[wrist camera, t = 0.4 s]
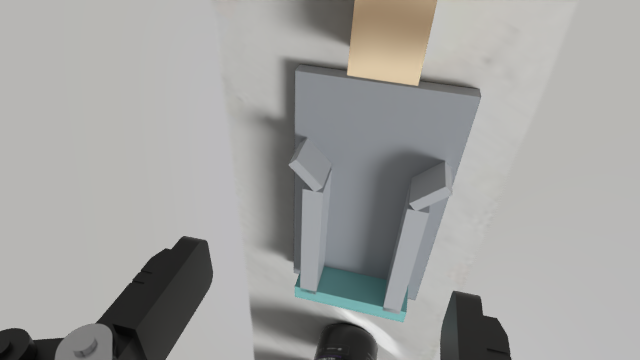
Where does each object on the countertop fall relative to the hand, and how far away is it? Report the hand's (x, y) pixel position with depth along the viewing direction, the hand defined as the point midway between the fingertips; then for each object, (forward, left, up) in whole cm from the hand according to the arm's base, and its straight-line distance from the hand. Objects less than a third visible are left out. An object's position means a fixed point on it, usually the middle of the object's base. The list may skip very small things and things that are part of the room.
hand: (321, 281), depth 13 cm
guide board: (+10, +4, -18) cm, 21 cm away
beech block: (-5, -2, -18) cm, 18 cm away
